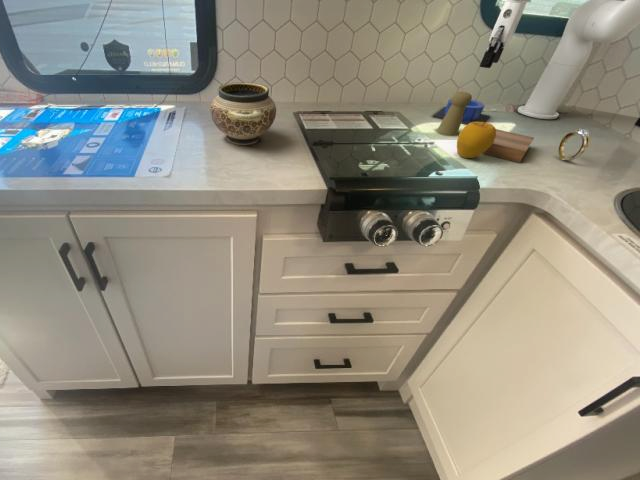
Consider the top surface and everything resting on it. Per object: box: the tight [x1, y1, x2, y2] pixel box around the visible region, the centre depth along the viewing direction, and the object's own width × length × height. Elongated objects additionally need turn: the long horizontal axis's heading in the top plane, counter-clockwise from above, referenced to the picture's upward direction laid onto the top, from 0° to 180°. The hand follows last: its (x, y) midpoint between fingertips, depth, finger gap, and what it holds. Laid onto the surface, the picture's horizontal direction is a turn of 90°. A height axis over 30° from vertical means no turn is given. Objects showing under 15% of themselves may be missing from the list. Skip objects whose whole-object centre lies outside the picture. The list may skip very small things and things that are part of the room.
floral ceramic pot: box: [209, 82, 277, 146], centre depth 94 cm, size 24×18×15 cm
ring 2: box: [558, 127, 591, 161], centre depth 92 cm, size 7×3×8 cm, turn 179°
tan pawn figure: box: [436, 91, 473, 137], centre depth 105 cm, size 6×6×11 cm
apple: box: [456, 121, 497, 159], centre depth 91 cm, size 8×8×9 cm
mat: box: [432, 106, 490, 126], centre depth 120 cm, size 15×15×1 cm
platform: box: [482, 128, 535, 163], centre depth 99 cm, size 14×14×3 cm
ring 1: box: [444, 98, 486, 121], centre depth 118 cm, size 11×11×4 cm
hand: (488, 64), depth 112 cm, fingers open, 9 cm apart
